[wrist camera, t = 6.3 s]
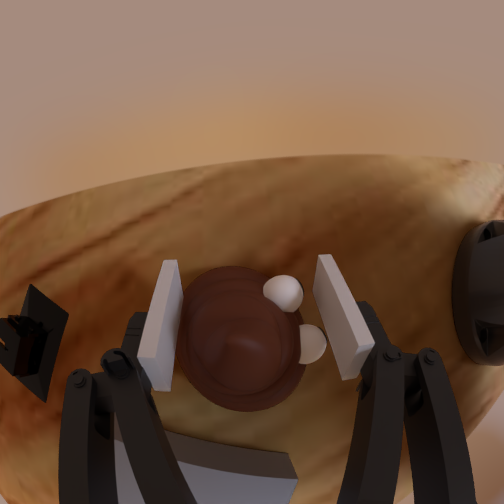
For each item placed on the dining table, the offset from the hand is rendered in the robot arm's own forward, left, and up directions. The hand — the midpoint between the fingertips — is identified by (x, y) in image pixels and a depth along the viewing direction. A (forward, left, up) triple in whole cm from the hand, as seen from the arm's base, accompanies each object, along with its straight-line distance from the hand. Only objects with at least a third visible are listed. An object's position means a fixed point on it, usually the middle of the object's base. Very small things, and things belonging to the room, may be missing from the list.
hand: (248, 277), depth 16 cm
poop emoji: (-1, +4, -4) cm, 6 cm away
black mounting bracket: (+17, +10, -5) cm, 20 cm away
